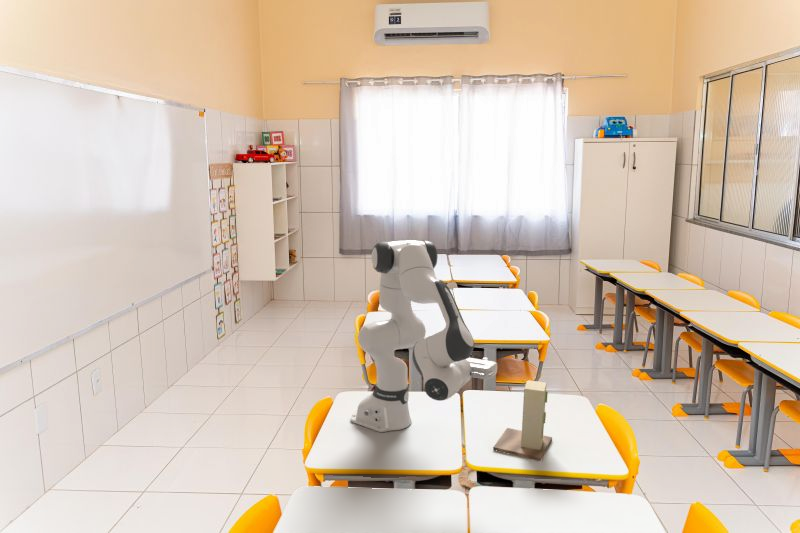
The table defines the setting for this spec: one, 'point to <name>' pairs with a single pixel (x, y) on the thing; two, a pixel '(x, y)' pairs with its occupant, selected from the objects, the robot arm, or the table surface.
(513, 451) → the walnut platform
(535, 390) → the toy refrigerator
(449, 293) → the robot arm
